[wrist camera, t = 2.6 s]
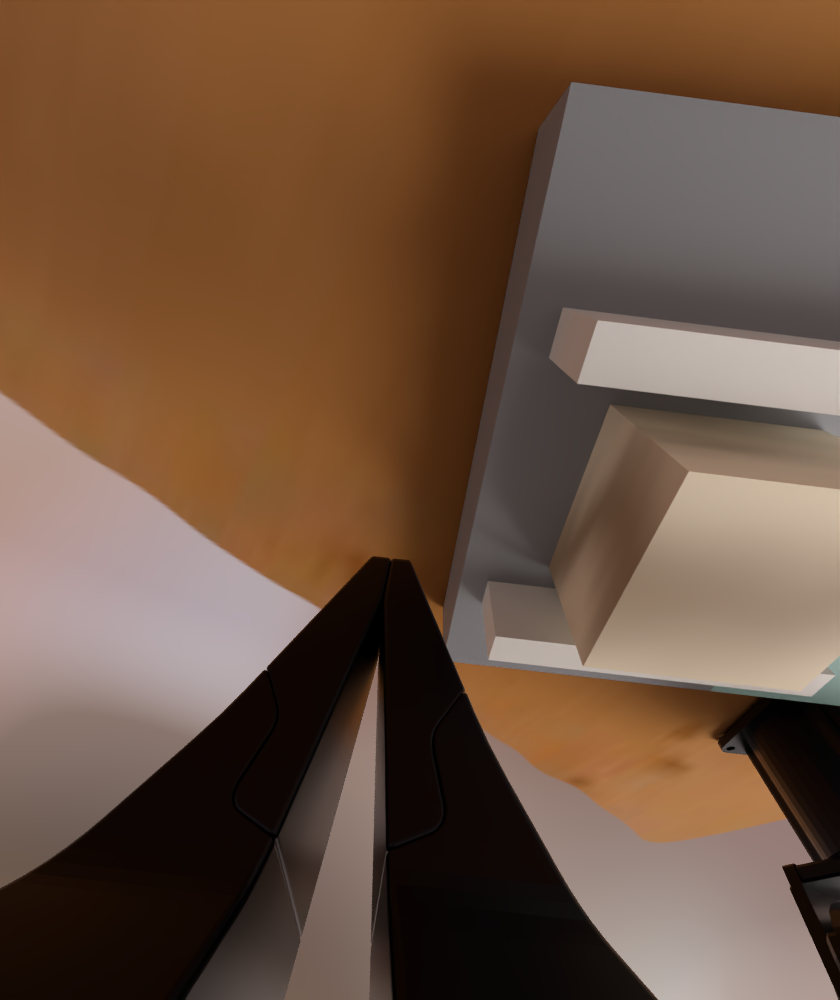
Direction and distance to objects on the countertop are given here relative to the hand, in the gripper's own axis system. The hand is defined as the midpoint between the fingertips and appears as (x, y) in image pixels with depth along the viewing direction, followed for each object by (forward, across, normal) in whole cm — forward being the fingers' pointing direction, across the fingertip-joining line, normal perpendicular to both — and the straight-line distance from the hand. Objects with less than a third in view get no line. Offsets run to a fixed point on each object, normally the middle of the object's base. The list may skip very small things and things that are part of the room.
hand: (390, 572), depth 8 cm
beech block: (+4, -8, 0) cm, 9 cm away
